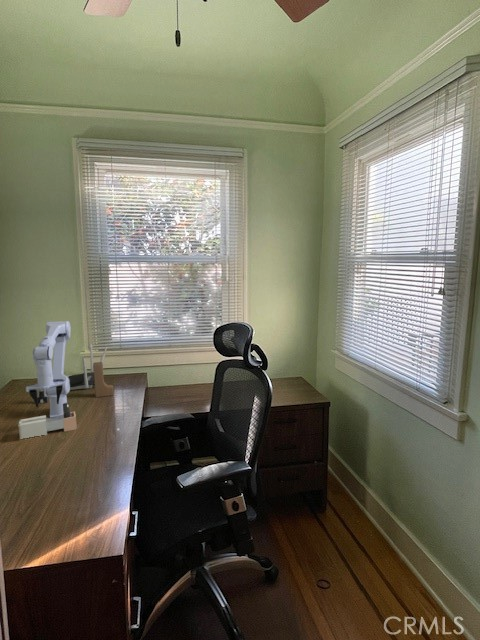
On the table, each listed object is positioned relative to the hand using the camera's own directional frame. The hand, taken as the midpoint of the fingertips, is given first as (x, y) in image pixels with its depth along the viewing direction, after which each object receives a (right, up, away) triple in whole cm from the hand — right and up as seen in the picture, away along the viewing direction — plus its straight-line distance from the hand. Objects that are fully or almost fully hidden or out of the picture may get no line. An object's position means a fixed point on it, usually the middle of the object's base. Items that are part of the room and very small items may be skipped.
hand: (47, 404), depth 153 cm
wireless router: (-8, -1, +59) cm, 59 cm away
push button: (-19, -6, +29) cm, 36 cm away
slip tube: (+5, -9, -2) cm, 11 cm away
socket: (+9, -10, +1) cm, 14 cm away
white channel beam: (-3, -11, -6) cm, 12 cm away
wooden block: (+10, -4, +39) cm, 40 cm away
